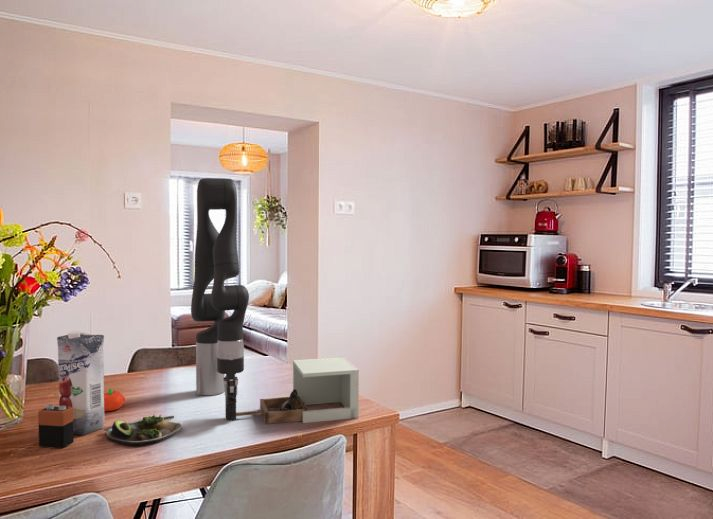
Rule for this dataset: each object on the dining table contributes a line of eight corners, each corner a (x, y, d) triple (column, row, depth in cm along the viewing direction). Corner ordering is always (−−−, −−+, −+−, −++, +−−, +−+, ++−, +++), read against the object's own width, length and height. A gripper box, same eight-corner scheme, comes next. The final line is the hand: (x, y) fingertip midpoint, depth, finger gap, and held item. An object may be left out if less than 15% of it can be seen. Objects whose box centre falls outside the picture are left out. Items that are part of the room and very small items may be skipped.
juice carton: (83, 421, 153) (82, 326, 152) (109, 427, 148) (108, 329, 147) (54, 431, 145) (52, 331, 144) (80, 438, 140) (78, 334, 139)
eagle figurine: (311, 411, 159) (302, 397, 167) (299, 394, 156) (291, 381, 164) (289, 427, 157) (281, 412, 166) (277, 410, 155) (269, 396, 163)
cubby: (303, 422, 153) (303, 373, 152) (293, 404, 169) (293, 360, 169) (358, 417, 157) (358, 369, 156) (343, 400, 174) (343, 357, 173)
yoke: (226, 427, 148) (226, 402, 148) (224, 411, 162) (224, 388, 162) (307, 420, 155) (307, 395, 154) (299, 405, 168) (299, 383, 168)
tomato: (107, 416, 159) (103, 395, 159) (95, 410, 165) (92, 390, 164) (130, 408, 165) (127, 387, 164) (119, 402, 170) (116, 383, 169)
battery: (50, 441, 139) (49, 402, 138) (74, 442, 138) (73, 403, 137) (37, 447, 134) (37, 407, 134) (62, 449, 133) (62, 408, 133)
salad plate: (153, 417, 158) (153, 401, 158) (198, 428, 149) (198, 411, 149) (93, 439, 141) (93, 421, 141) (140, 452, 133) (140, 433, 132)
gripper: (216, 351, 161) (216, 408, 161) (217, 361, 147) (218, 424, 148) (242, 349, 163) (242, 406, 163) (245, 359, 149) (246, 421, 150)
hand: (230, 414), depth 156 cm, fingers closed on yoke, 3 cm apart
